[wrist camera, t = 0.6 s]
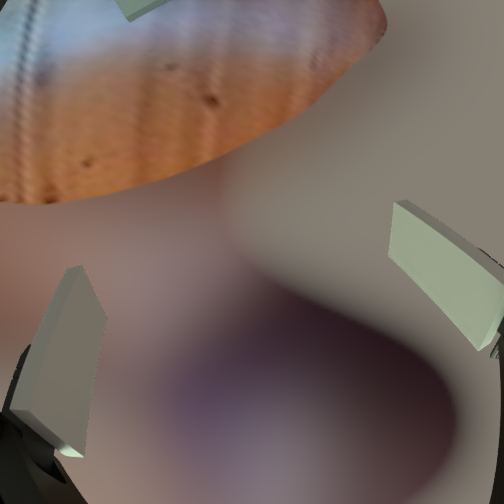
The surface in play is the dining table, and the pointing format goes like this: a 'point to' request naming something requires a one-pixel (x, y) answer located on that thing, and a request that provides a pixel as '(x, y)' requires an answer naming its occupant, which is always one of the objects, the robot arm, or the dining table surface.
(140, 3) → the button board
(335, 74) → the dining table surface
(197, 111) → the dining table surface
